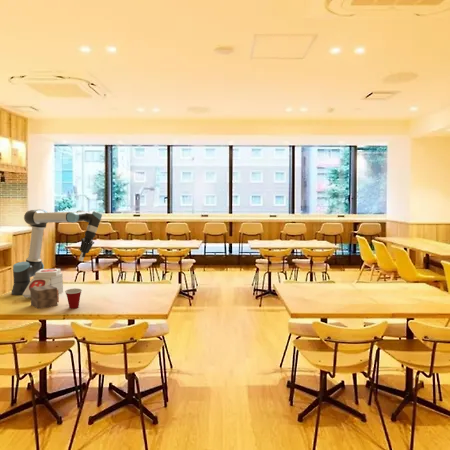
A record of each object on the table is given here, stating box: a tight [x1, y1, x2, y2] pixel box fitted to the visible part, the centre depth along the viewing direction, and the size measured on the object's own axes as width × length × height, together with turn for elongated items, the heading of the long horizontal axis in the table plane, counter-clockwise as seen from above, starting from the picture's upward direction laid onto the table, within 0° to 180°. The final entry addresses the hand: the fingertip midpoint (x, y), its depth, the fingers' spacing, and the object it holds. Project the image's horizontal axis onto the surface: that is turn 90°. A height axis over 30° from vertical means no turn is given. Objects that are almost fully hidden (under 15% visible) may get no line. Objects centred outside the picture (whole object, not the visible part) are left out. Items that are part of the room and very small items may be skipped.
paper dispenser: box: [22, 268, 64, 299], centre depth 332 cm, size 19×30×18 cm, turn 167°
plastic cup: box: [64, 288, 83, 310], centre depth 297 cm, size 11×11×12 cm
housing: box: [30, 285, 58, 310], centre depth 304 cm, size 13×14×12 cm
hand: (80, 260), depth 334 cm, fingers closed
